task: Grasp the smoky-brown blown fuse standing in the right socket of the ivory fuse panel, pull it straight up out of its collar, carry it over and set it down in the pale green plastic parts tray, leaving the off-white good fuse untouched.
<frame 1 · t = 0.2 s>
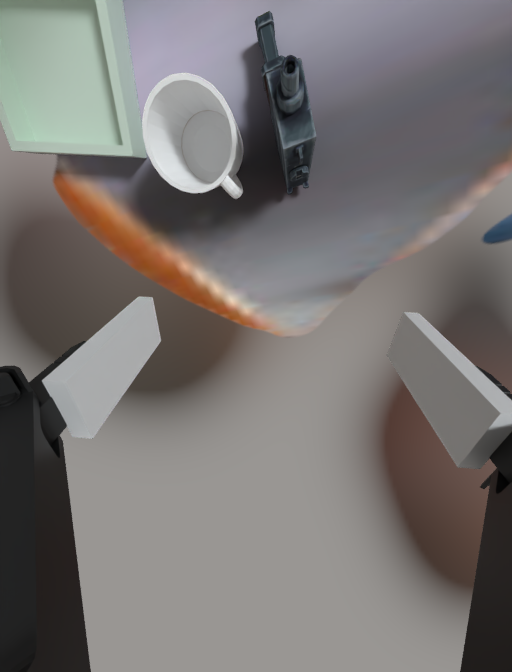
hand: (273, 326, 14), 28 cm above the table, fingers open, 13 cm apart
mug: (218, 157, 33), on the table
gun: (282, 119, 31), on the table
parts tray: (71, 77, 30), on the table
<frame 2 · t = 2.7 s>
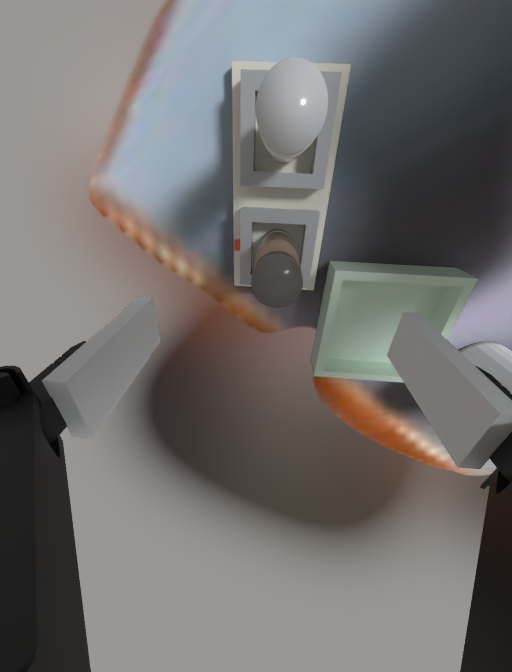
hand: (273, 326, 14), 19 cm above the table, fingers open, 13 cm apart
mug: (477, 367, 38), on the table
good fuse: (285, 137, 24), point 1 cm above the table, touching fuse panel
blown fuse: (276, 247, 29), point 1 cm above the table, touching fuse panel
fuse panel: (280, 197, 27), on the table
parts tray: (374, 319, 34), on the table
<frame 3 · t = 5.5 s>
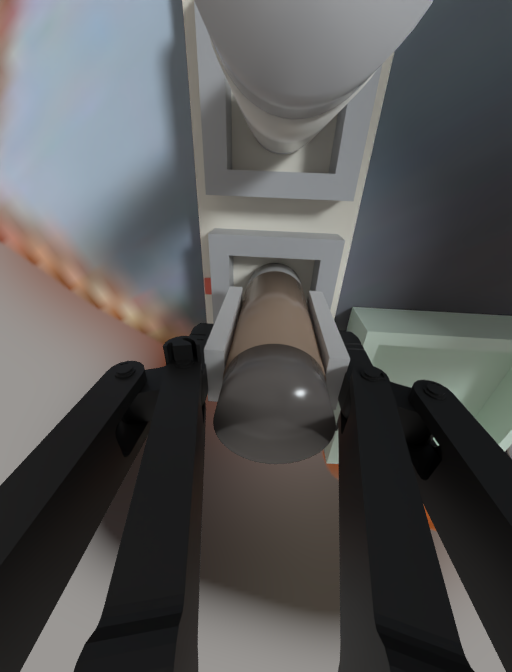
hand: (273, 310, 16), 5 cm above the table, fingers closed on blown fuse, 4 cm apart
good fuse: (284, 109, 13), point 1 cm above the table, touching fuse panel
blown fuse: (274, 289, 18), point 1 cm above the table, touching gripper
fuse panel: (276, 212, 17), on the table
parts tray: (414, 383, 24), on the table
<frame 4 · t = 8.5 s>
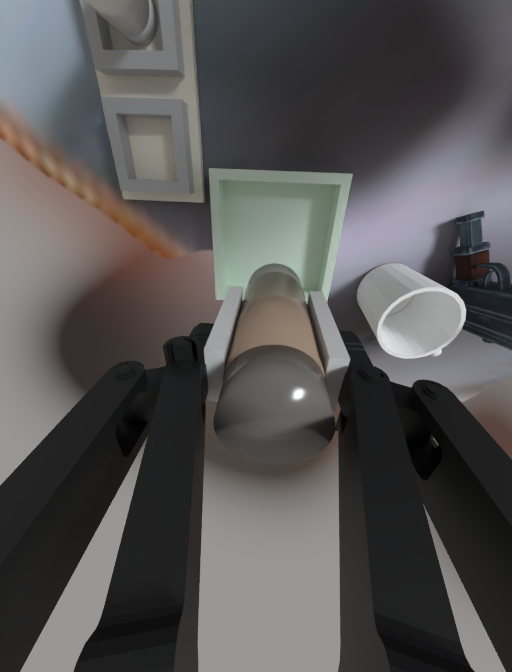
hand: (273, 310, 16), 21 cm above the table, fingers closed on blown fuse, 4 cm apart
mug: (388, 294, 37), on the table
good fuse: (136, 15, 23), point 1 cm above the table, touching fuse panel
blown fuse: (274, 290, 18), point 18 cm above the table, touching gripper
fuse panel: (151, 92, 27), on the table
gun: (456, 270, 35), on the table
parts tray: (274, 239, 34), on the table
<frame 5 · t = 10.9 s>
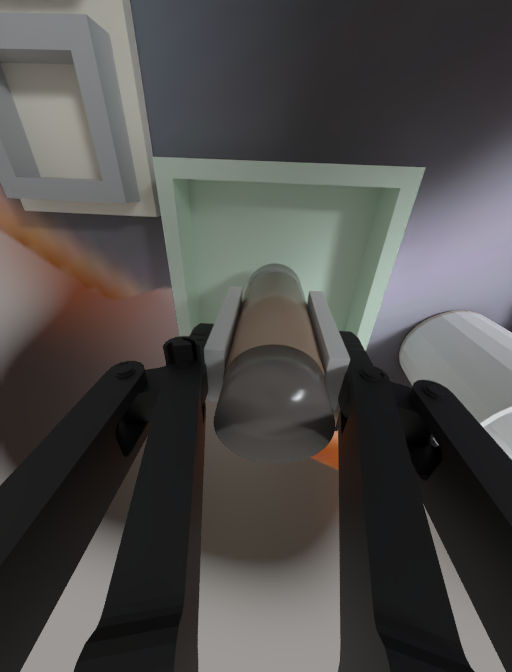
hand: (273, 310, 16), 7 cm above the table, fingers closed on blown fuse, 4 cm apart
mug: (446, 353, 24), on the table
blown fuse: (274, 290, 18), point 3 cm above the table, touching gripper
fuse panel: (44, 14, 14), on the table
parts tray: (275, 273, 21), on the table
when the fingers open (4 cm above the table, at t = 12.2 s): blown fuse stays where it is, resting on parts tray.
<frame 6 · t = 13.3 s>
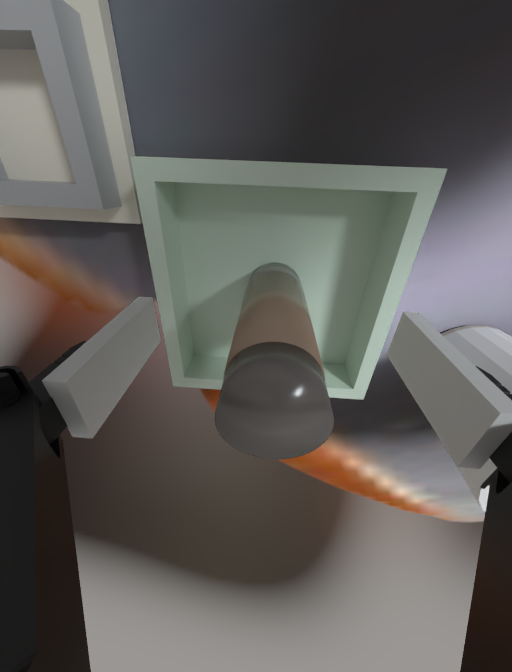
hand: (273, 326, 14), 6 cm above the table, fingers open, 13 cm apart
mug: (459, 369, 23), on the table
blown fuse: (274, 289, 19), point 1 cm above the table, touching parts tray
parts tray: (274, 284, 19), on the table
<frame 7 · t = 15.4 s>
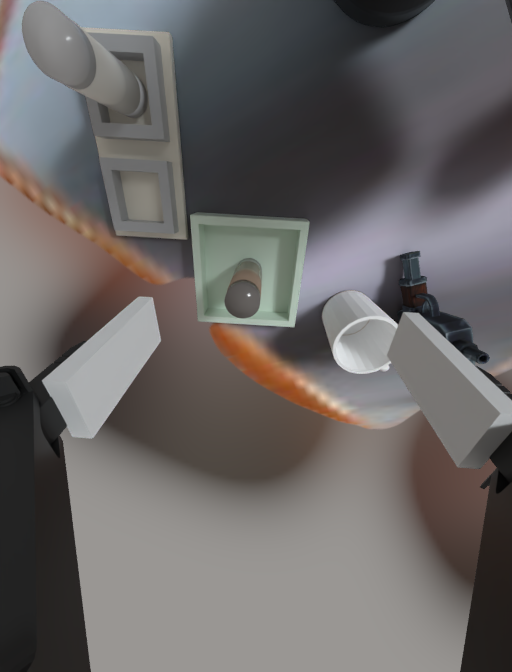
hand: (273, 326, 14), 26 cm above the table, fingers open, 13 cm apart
mug: (349, 316, 42), on the table
good fuse: (130, 95, 28), point 1 cm above the table, touching fuse panel
blown fuse: (249, 271, 38), point 1 cm above the table, touching parts tray
fuse panel: (141, 151, 32), on the table
gun: (405, 297, 40), on the table
parts tray: (249, 269, 39), on the table
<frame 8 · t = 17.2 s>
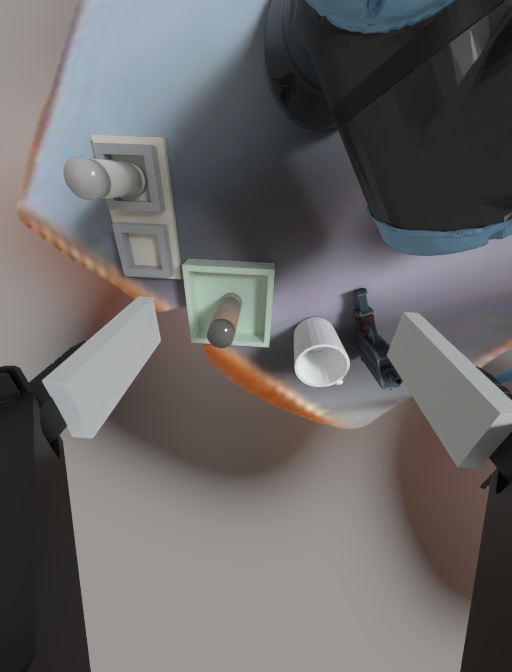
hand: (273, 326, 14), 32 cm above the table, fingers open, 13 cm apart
mug: (316, 337, 51), on the table
good fuse: (134, 179, 37), point 1 cm above the table, touching fuse panel
blown fuse: (231, 302, 47), point 1 cm above the table, touching parts tray
fuse panel: (144, 215, 41), on the table
gun: (361, 322, 49), on the table
parts tray: (232, 300, 48), on the table
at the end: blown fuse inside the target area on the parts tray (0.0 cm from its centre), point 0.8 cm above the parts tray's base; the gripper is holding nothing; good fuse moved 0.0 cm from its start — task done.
